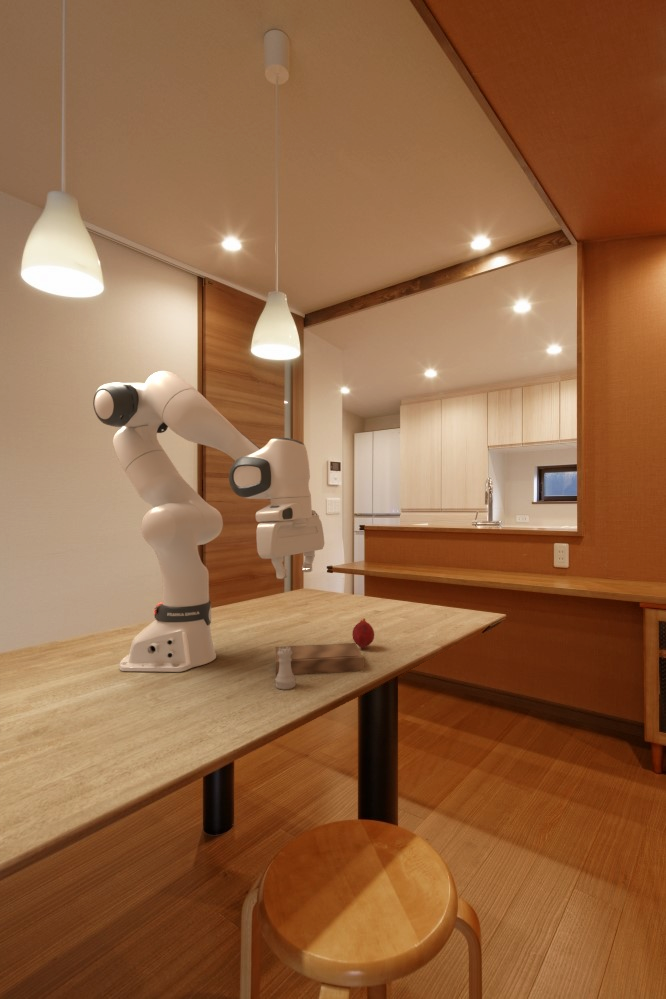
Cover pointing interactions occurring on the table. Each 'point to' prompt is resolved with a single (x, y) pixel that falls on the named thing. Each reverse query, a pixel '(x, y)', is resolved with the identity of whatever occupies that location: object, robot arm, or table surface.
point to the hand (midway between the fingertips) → (295, 575)
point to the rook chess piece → (285, 670)
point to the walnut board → (324, 658)
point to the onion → (363, 634)
